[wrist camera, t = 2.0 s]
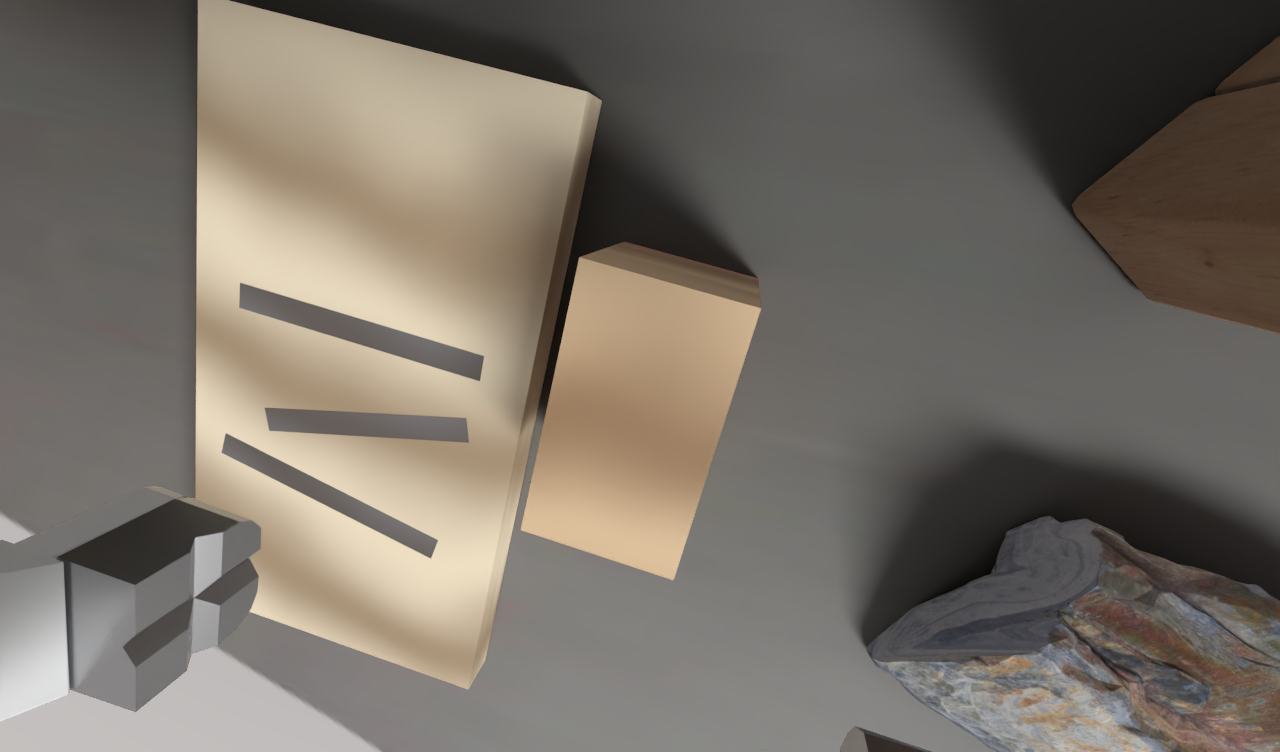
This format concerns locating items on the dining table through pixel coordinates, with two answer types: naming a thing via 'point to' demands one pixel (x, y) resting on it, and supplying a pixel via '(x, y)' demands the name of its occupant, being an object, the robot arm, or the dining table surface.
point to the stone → (1094, 650)
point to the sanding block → (638, 403)
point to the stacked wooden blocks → (1203, 203)
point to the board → (376, 320)
